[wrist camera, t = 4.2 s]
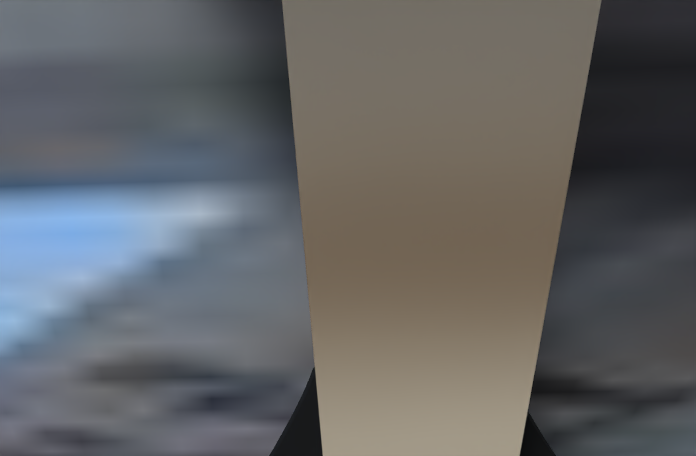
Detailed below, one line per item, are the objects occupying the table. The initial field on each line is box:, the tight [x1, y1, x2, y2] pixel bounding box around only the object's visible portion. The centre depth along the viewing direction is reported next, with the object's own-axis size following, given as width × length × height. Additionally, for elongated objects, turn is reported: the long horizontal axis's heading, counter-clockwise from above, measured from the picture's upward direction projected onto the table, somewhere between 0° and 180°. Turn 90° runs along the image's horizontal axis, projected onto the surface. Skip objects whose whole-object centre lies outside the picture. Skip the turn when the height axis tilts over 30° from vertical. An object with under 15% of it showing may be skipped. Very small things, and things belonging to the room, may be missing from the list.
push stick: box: [282, 0, 601, 456], centre depth 8 cm, size 16×2×5 cm, turn 2°
